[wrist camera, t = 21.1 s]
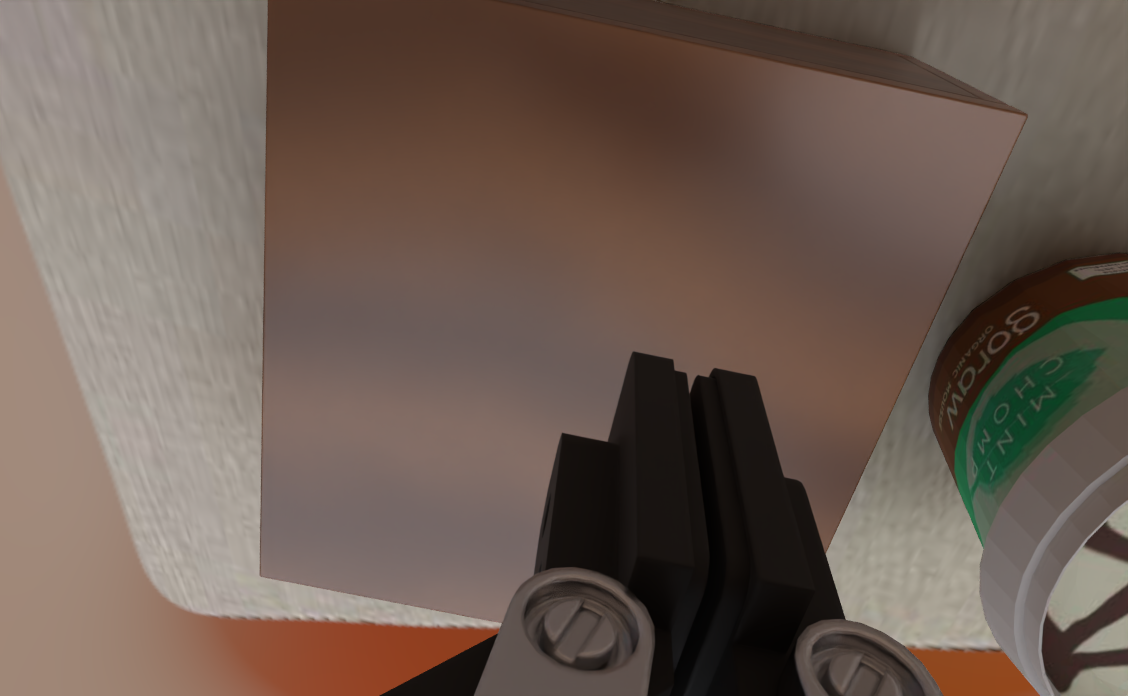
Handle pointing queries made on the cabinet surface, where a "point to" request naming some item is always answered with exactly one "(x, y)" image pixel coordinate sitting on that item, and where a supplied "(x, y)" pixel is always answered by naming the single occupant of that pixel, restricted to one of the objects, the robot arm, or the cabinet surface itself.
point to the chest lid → (571, 267)
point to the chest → (772, 41)
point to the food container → (1047, 468)
